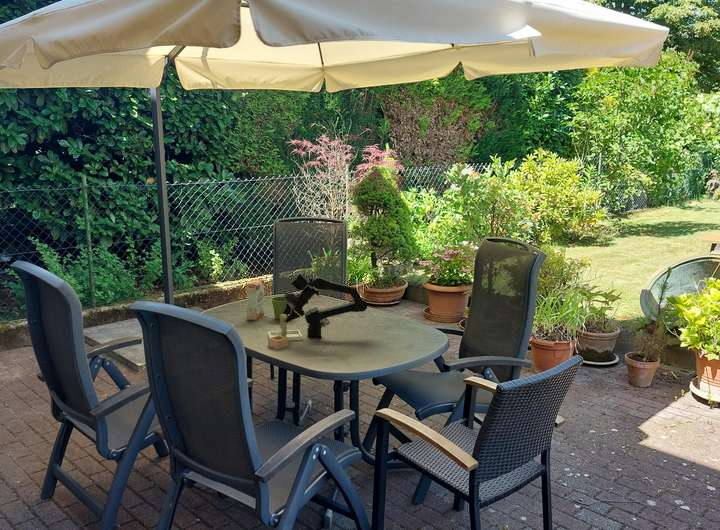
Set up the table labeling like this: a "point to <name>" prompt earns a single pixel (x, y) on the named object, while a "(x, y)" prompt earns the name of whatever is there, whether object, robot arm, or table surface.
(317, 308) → the ceramic mug
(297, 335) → the tray
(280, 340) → the pin cup
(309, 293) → the robot arm
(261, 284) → the cracker box
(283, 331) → the dowel pin
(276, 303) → the plant pot
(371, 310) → the table surface
